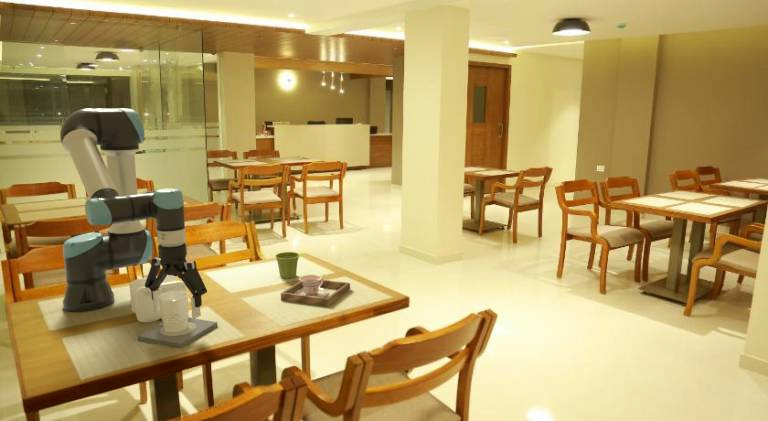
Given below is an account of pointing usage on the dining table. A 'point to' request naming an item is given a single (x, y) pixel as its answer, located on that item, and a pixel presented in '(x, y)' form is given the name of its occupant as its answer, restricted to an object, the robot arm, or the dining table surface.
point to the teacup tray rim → (290, 296)
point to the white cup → (174, 311)
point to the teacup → (312, 286)
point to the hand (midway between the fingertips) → (177, 314)
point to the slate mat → (178, 333)
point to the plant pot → (287, 264)
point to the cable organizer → (143, 297)
